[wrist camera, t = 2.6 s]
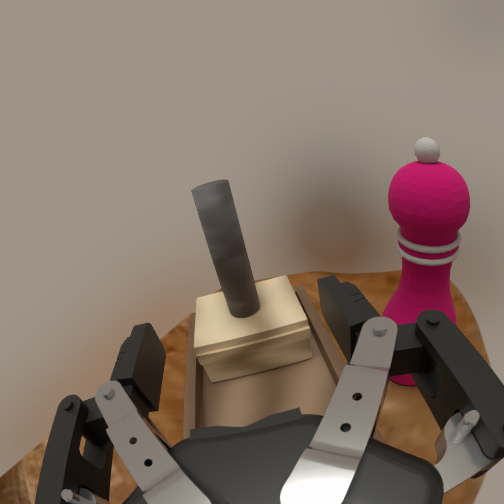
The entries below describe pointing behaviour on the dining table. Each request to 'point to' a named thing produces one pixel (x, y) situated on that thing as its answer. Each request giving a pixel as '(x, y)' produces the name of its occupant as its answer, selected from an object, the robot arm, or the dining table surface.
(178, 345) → the dining table surface
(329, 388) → the bay
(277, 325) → the joystick
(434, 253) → the pepper mill
